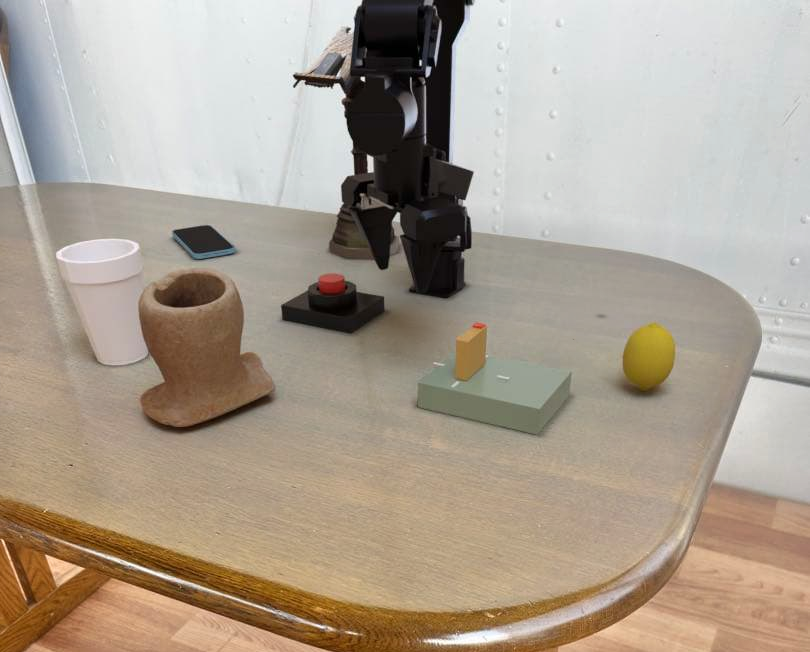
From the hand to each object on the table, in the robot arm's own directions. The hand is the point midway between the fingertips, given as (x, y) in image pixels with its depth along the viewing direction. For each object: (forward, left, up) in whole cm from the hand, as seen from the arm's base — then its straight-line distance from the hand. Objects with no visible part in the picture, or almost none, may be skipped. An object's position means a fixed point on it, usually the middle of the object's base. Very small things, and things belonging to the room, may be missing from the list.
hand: (402, 280), depth 95 cm
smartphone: (-53, +25, -10) cm, 60 cm away
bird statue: (-27, +33, -10) cm, 44 cm away
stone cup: (-12, -22, -10) cm, 26 cm away
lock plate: (+15, -7, -10) cm, 19 cm away
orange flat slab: (+12, -7, -6) cm, 15 cm away
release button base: (-15, +7, -10) cm, 19 cm away
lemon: (+29, +3, -10) cm, 31 cm away
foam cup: (-32, -16, -10) cm, 37 cm away
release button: (-15, +7, -6) cm, 18 cm away
